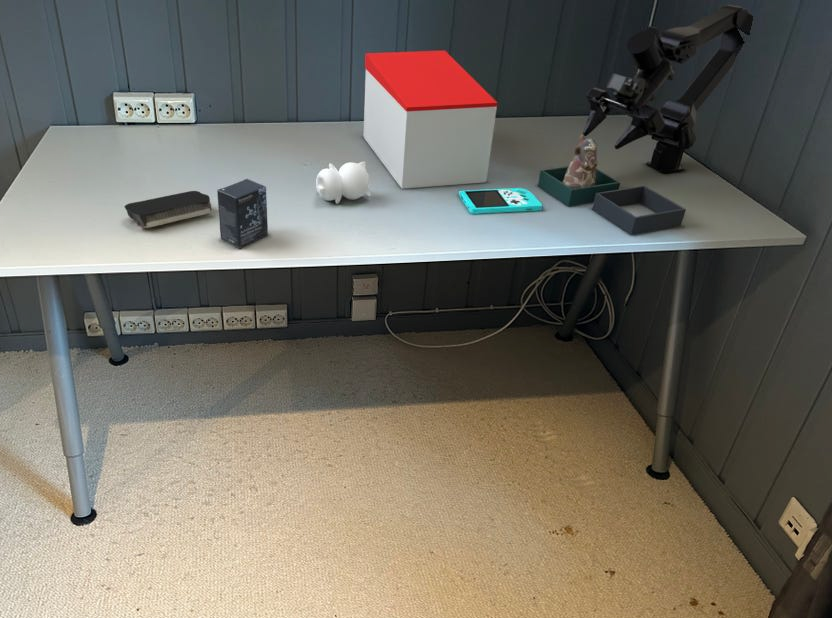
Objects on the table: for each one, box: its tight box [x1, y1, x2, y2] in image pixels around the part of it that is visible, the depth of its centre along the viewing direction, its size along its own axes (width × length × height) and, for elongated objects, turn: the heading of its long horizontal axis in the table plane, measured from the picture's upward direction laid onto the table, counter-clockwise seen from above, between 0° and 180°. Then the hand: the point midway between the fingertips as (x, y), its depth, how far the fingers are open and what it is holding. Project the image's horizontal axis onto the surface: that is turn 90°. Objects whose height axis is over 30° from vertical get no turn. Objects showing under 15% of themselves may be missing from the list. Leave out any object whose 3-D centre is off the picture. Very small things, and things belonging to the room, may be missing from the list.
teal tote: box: [537, 165, 621, 207], centre depth 165 cm, size 13×12×4 cm
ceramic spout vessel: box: [563, 134, 599, 189], centre depth 163 cm, size 7×7×12 cm
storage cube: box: [363, 50, 498, 190], centre depth 175 cm, size 21×35×21 cm, turn 14°
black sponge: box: [123, 190, 213, 229], centre depth 150 cm, size 16×8×4 cm, turn 123°
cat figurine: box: [315, 160, 372, 205], centre depth 160 cm, size 9×11×12 cm
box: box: [216, 178, 269, 249], centre depth 141 cm, size 8×6×11 cm
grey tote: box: [591, 185, 687, 236], centre depth 155 cm, size 13×13×4 cm
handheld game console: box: [458, 187, 543, 215], centre depth 160 cm, size 10×16×1 cm, turn 99°
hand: (599, 141), depth 162 cm, fingers open, 9 cm apart
